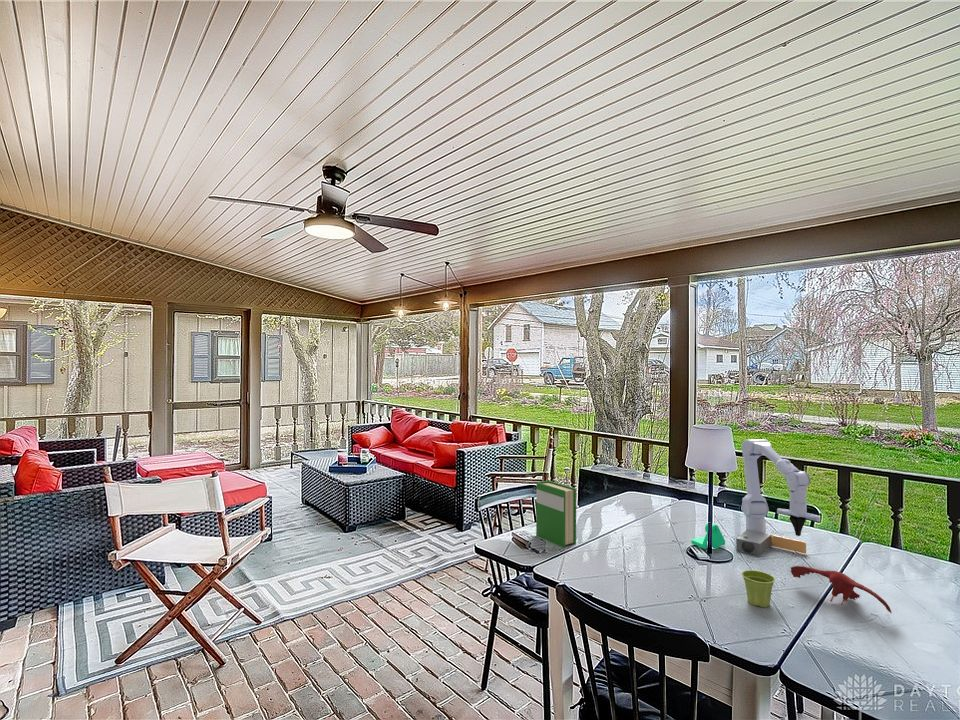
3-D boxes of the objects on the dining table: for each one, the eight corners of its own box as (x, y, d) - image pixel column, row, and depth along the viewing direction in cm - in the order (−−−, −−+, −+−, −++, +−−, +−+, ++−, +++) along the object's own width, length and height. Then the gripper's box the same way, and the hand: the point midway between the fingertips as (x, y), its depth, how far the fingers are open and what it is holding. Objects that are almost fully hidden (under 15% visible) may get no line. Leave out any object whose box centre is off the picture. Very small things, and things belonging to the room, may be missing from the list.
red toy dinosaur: (797, 597, 168) (780, 571, 163) (808, 575, 171) (791, 549, 166) (896, 637, 143) (879, 608, 138) (907, 611, 146) (890, 581, 141)
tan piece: (770, 545, 203) (770, 535, 203) (771, 544, 204) (771, 534, 205) (805, 553, 195) (805, 542, 195) (806, 552, 196) (806, 541, 196)
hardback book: (576, 544, 205) (576, 488, 206) (563, 547, 201) (563, 490, 202) (548, 532, 220) (548, 480, 220) (536, 535, 216) (536, 482, 216)
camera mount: (709, 541, 210) (709, 518, 210) (725, 547, 203) (725, 523, 203) (690, 545, 205) (690, 521, 205) (705, 551, 198) (705, 526, 198)
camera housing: (747, 540, 211) (747, 527, 211) (771, 546, 204) (771, 532, 205) (735, 550, 199) (735, 537, 199) (759, 557, 192) (759, 543, 192)
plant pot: (759, 612, 149) (759, 584, 149) (735, 598, 158) (735, 571, 158) (782, 608, 151) (782, 580, 151) (757, 594, 160) (757, 568, 160)
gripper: (775, 499, 196) (775, 533, 195) (817, 507, 185) (817, 542, 185) (779, 496, 201) (779, 529, 200) (821, 503, 190) (821, 537, 190)
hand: (798, 535), depth 193 cm, fingers closed
